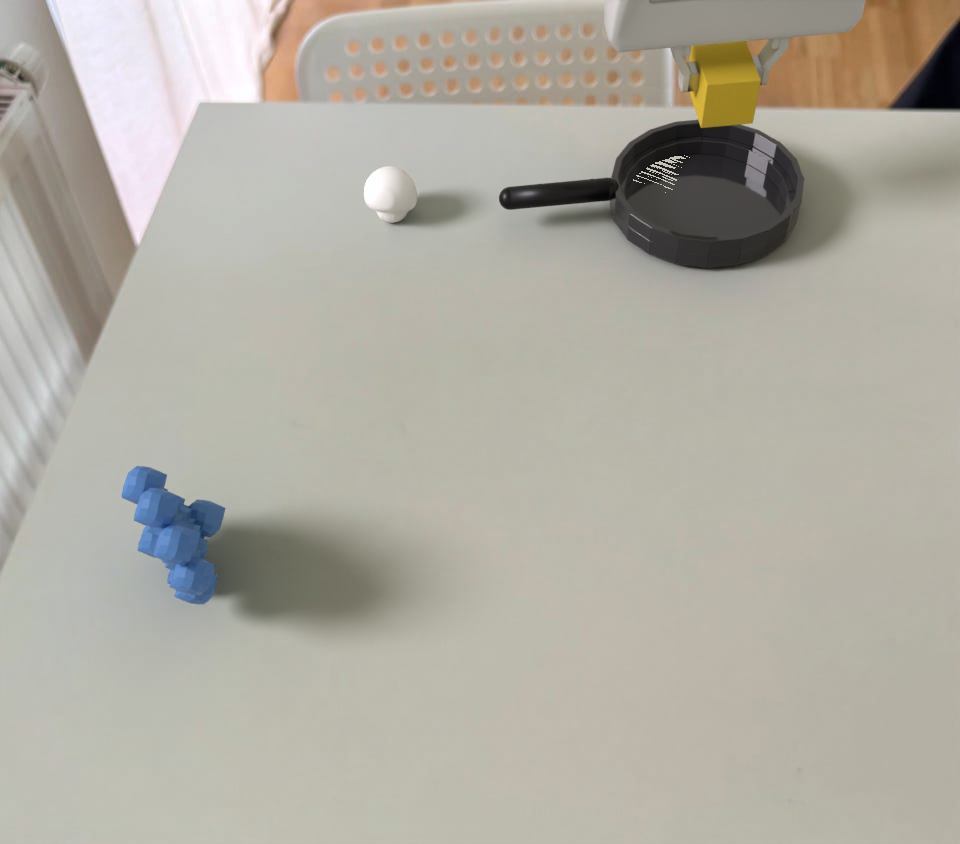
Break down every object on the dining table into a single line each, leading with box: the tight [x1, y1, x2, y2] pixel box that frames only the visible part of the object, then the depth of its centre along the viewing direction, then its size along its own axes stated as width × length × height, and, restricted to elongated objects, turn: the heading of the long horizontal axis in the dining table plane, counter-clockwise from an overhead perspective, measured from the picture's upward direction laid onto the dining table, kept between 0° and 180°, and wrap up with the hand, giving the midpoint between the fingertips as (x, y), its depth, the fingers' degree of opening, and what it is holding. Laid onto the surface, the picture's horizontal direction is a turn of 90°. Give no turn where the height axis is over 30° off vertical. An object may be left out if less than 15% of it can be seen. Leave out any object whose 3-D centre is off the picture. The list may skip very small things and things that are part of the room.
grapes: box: [121, 465, 226, 605], centre depth 78 cm, size 12×7×12 cm, turn 31°
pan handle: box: [498, 177, 619, 211], centre depth 101 cm, size 11×2×2 cm, turn 95°
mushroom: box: [363, 165, 418, 224], centre depth 103 cm, size 5×5×5 cm
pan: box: [609, 119, 805, 269], centre depth 102 cm, size 17×17×4 cm
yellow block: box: [688, 41, 761, 128], centre depth 92 cm, size 4×6×4 cm
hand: (721, 84), depth 92 cm, fingers closed on yellow block, 4 cm apart
